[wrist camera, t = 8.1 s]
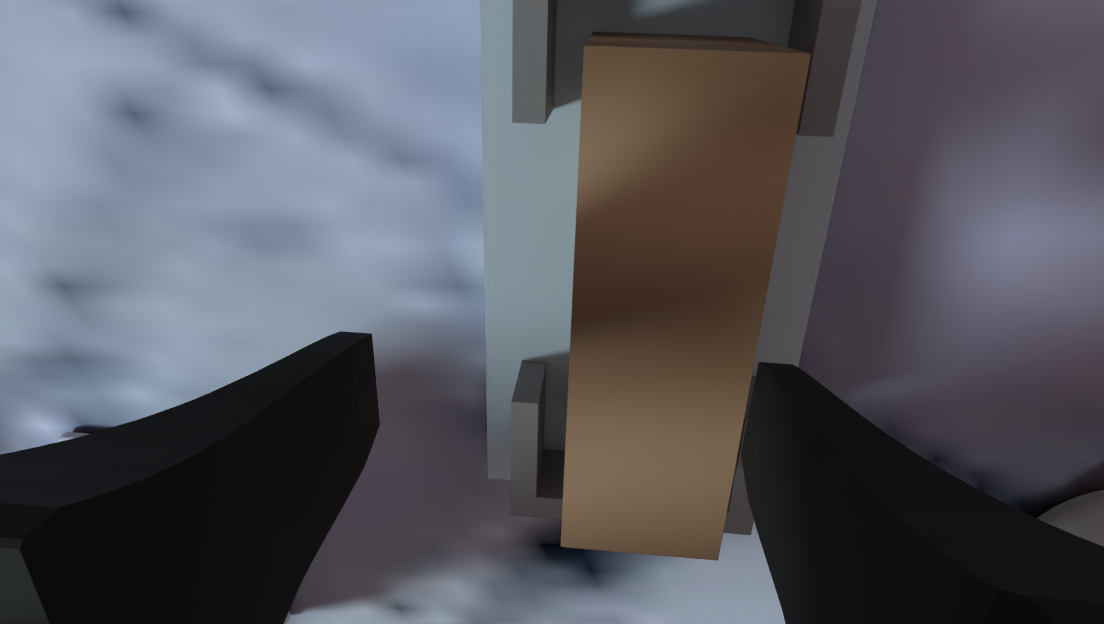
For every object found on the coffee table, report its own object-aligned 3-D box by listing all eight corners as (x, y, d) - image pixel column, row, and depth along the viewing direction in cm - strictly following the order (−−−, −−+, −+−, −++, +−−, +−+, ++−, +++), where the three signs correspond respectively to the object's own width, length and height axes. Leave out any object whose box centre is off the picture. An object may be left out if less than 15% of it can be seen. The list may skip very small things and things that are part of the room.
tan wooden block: (693, 424, 22) (718, 560, 17) (574, 415, 22) (560, 546, 17) (749, 37, 17) (811, 54, 12) (594, 31, 17) (584, 45, 12)
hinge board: (763, 482, 24) (785, 554, 21) (492, 461, 25) (474, 528, 22) (883, -91, 16) (946, -113, 13) (485, -101, 17) (456, -123, 14)
